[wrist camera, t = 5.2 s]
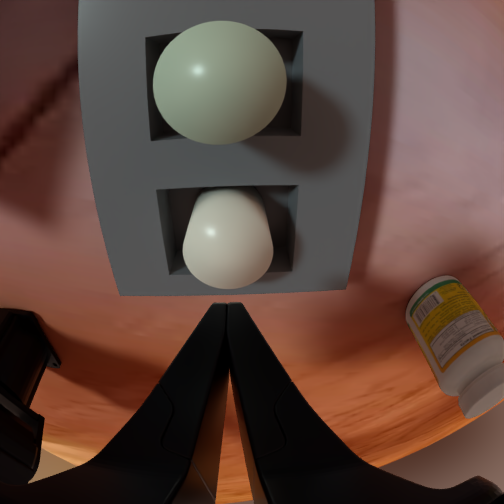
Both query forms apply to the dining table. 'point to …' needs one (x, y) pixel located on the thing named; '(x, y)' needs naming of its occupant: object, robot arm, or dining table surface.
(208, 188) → the cream button
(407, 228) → the dining table surface
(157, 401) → the robot arm
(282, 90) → the sage button
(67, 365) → the dining table surface
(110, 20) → the panel
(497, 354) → the supplement bottle
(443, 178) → the dining table surface
